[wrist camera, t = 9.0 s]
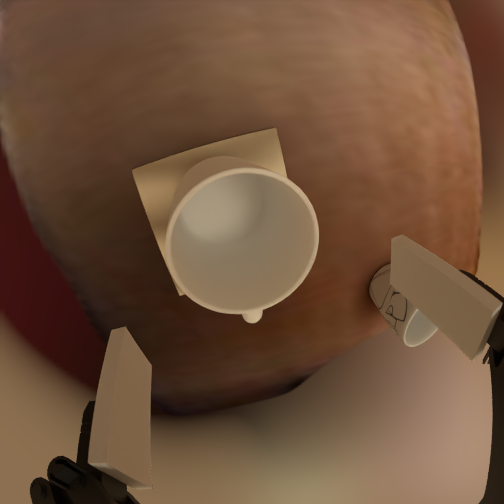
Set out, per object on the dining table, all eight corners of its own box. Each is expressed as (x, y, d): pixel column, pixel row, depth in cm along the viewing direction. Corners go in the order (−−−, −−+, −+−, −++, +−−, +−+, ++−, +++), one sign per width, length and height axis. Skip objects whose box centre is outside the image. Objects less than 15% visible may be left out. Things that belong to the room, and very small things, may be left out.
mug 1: (276, 271, 27) (320, 338, 18) (194, 290, 26) (203, 368, 17) (261, 147, 22) (314, 157, 13) (164, 166, 21) (146, 187, 12)
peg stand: (133, 169, 24) (125, 173, 20) (272, 128, 25) (285, 127, 22) (179, 290, 30) (179, 308, 27) (298, 252, 31) (310, 265, 28)
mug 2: (424, 257, 37) (468, 287, 28) (406, 303, 40) (444, 338, 31) (372, 254, 34) (422, 291, 25) (354, 308, 37) (393, 352, 28)
